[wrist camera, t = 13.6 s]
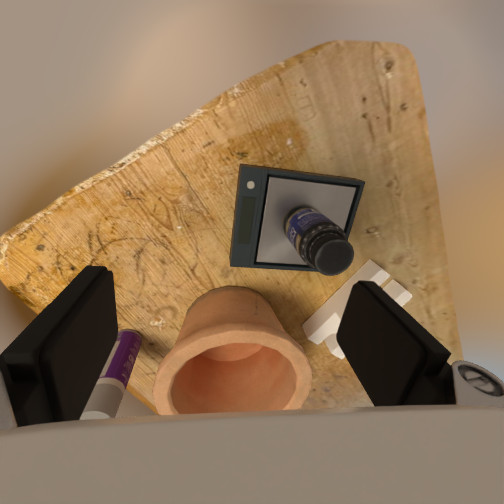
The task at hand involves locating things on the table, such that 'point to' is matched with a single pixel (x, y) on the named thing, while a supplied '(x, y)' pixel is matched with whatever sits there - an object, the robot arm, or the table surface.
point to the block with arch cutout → (332, 310)
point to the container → (113, 377)
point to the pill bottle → (319, 241)
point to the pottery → (232, 359)
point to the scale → (252, 206)
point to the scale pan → (289, 200)
